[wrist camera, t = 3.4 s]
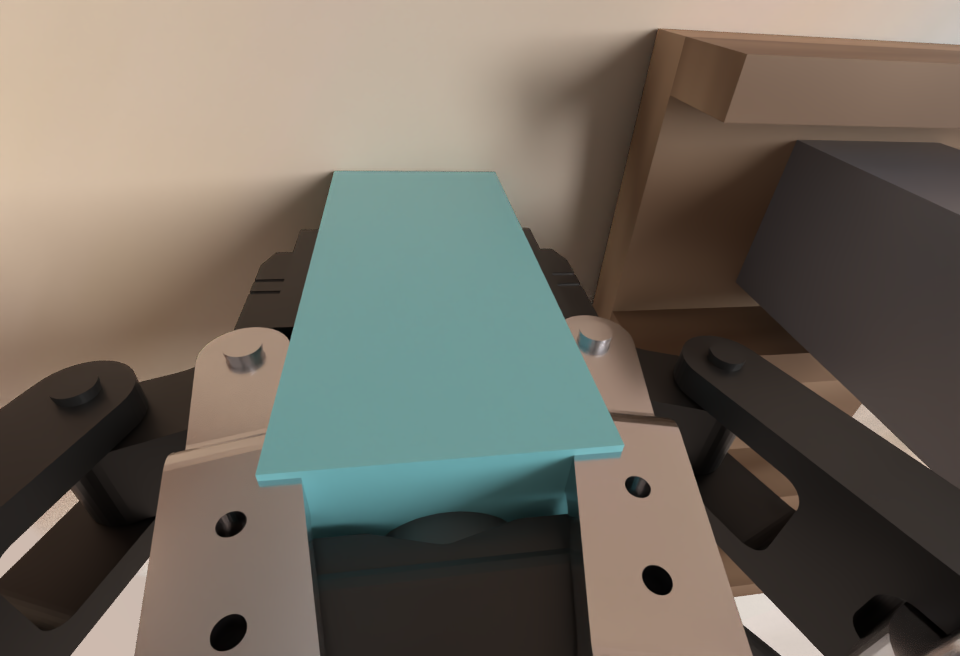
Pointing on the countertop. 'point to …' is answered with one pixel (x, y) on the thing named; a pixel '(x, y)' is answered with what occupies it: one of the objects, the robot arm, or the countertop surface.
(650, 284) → the wooden slotted rack
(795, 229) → the charcoal plug
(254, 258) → the countertop surface
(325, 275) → the teal plug
